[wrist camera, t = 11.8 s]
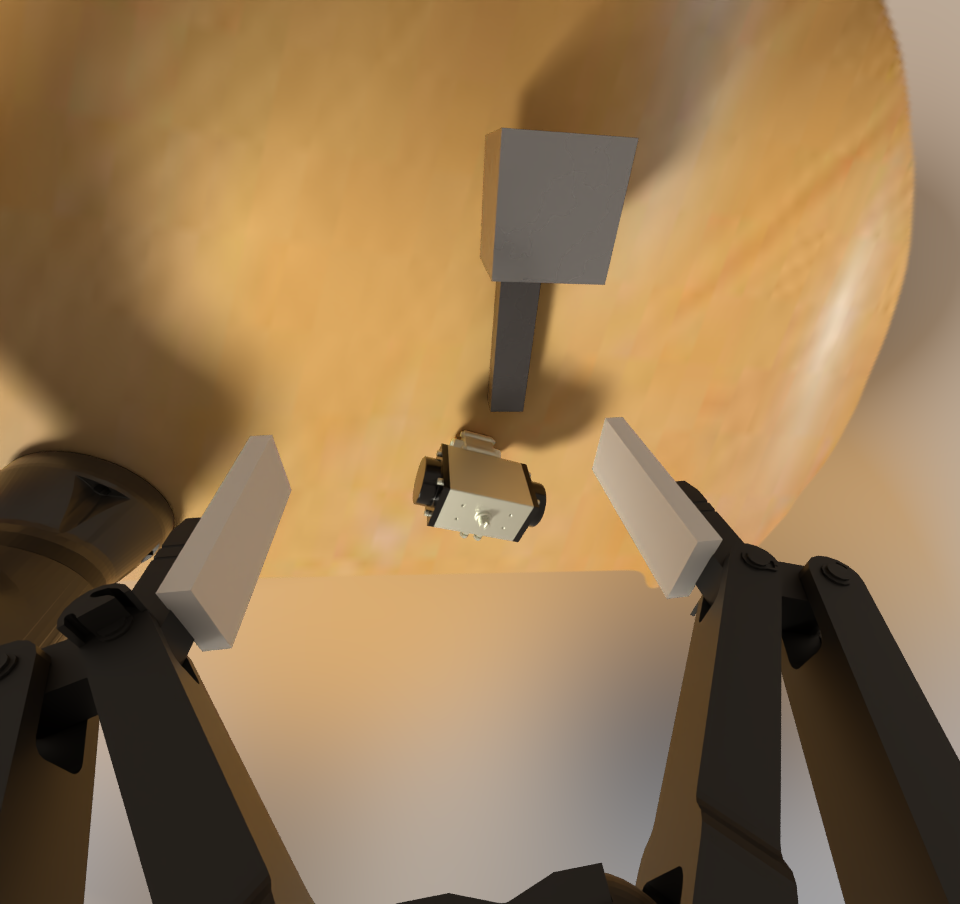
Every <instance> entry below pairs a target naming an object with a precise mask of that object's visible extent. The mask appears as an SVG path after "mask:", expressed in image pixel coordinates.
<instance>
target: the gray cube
mask: <svg viewBox="0 0 960 904" xmlns="http://www.w3.org/2000/svg"><path fill="white" fill-rule="evenodd" d="M637 143H638V138H630V137H617V136H604V135H591V134H577V133H564V132H551V131H537V130H524V129H511V128H500V129H498V130H496V131H494V132H491V133H489V134H487V135H486V138H485V159H484V181H483V202H482V223H481V244H480V259H481V261H482V263H483V265H484V267H485V269H486V271H487V273H488V275H489V277H490V279H491V281H500V282H533V283H565V284H598V285H605V281H606V277H607V273H608V268H609V264H610V260H611V255H612V251H613V247H614V242H615V238H616V234H617V229H618V225H619V221H620V216H621V212H622V208H623V203H624V199H625V195H626V190H627V186H628V182H629V177H630V173H631V169H632V164H633V160H634V156H635V151H636V147H637Z"/></svg>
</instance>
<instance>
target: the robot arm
mask: <svg viewBox="0 0 960 904" xmlns="http://www.w3.org/2000/svg"><path fill="white" fill-rule="evenodd" d="M592 470H593V472H594V474H595V475H596V477H597V479H598V481H599V482H600V484H601V486H602V487H603V489H604V491H605V493H606V494H607V496H608V498H609V500H610V501H611V503H612V505H613V506H614V508H615V510H616V512H617V513H618V515H619V517H620V519H621V520H622V522H623V524H624V525H625V527H626V529H627V531H628V532H629V534H630V536H631V538H632V539H633V541H634V543H635V544H636V546H637V548H638V550H639V551H640V553H641V555H642V557H643V558H644V560H645V562H646V563H647V565H648V567H649V569H650V570H651V572H652V574H653V576H654V577H655V579H656V581H657V582H658V584H659V586H660V588H661V589H662V591H663V593H664V595H665V596H666V598H667V599H670V598H678V597H687V596H689V595H690V594H691V592H692V590H693V589H694V587H695V585H696V586H697V587H698V589H699V590H700V592H701V593H702V596H701V598H700V600H699V601H698V603H697V604H696V606H695V608H694V609H693V611H692V613H691V615H692V616H695V614H696V618H695V623H694V628H693V633H692V638H691V643H690V648H689V653H688V658H687V662H686V668H685V673H684V678H683V682H682V687H681V692H680V697H679V702H678V707H677V712H676V717H675V722H674V728H673V733H672V738H671V742H670V747H669V752H668V757H667V763H666V768H665V773H664V778H663V783H662V787H661V792H660V797H659V802H658V808H657V812H656V818H655V822H654V826H653V830H652V833H651V836H650V838H649V841H648V843H647V845H646V848H645V850H644V853H643V856H642V859H641V863H640V867H639V872H638V876H637V881H636V886H634V885H632V884H631V883H629V882H627V881H625V880H624V879H621V878H619V877H616V876H614V875H611V874H608V873H604V869H603V866H602V863H598V864H593V865H588V866H583V867H578V868H573V869H568V870H563V871H558V872H553V873H552V874H550V875H549V876H547V877H546V878H544V879H543V880H541V881H540V882H538V883H537V884H535V885H534V886H532V887H531V888H529V889H528V890H526V891H524V892H523V893H521V894H520V895H518V896H517V897H515V898H514V899H512V900H511V901H509V902H507V903H495V902H490V901H486V900H481V899H476V898H471V897H465V896H460V895H455V894H450V893H447V894H442V895H437V896H432V897H427V898H422V899H417V900H412V901H407V902H402V903H397V904H798V895H797V885H796V882H795V878H794V876H793V872H792V871H791V869H790V868H789V867H788V865H787V864H786V862H785V861H784V860H783V857H782V854H781V846H780V813H781V810H780V809H781V806H780V805H781V804H780V803H781V800H780V799H781V798H780V797H781V672H782V675H783V679H784V683H785V687H786V690H787V694H788V698H789V701H790V705H791V709H792V712H793V716H794V719H795V723H796V727H797V730H798V734H799V738H800V741H801V745H802V749H803V752H804V755H805V759H806V763H807V766H808V770H809V774H810V778H811V781H812V785H813V788H814V792H815V795H816V799H817V803H818V806H819V810H820V814H821V817H822V821H823V825H824V828H825V832H826V836H827V839H828V843H829V846H830V850H831V854H832V857H833V861H834V864H835V868H836V872H837V875H838V879H839V883H840V886H841V890H842V894H843V897H844V901H845V904H960V761H959V759H958V757H957V755H956V754H955V752H954V750H953V748H952V746H951V744H950V742H949V740H948V738H947V737H946V735H945V733H944V731H943V729H942V727H941V725H940V723H939V722H938V720H937V718H936V716H935V714H934V712H933V710H932V709H931V707H930V705H929V703H928V701H927V699H926V697H925V695H924V694H923V692H922V690H921V688H920V686H919V684H918V682H917V681H916V679H915V677H914V675H913V673H912V671H911V669H910V667H909V666H908V664H907V662H906V660H905V658H904V656H903V654H902V653H901V651H900V649H899V647H898V645H897V643H896V641H895V640H894V638H893V636H892V634H891V632H890V630H889V628H888V626H887V625H886V623H885V621H884V619H883V617H882V615H881V613H880V611H879V610H878V608H877V606H876V604H875V602H874V600H873V598H872V597H871V595H870V593H869V591H868V589H867V587H866V585H865V584H864V582H863V580H862V579H861V578H860V576H859V575H858V574H857V573H856V572H855V571H854V570H852V569H851V568H849V566H847V565H845V564H843V563H842V562H840V561H838V560H835V559H832V558H829V557H824V556H816V557H812V558H811V559H810V560H809V561H808V562H807V564H806V565H805V566H801V565H795V564H790V563H784V562H778V561H777V560H776V559H775V558H774V557H773V556H772V555H771V554H769V553H768V552H767V551H765V550H763V549H761V548H759V547H757V546H754V545H751V544H744V543H743V541H742V540H741V539H740V538H739V537H738V536H737V534H736V533H735V532H734V531H733V530H732V529H731V528H730V526H729V525H728V524H727V523H726V522H725V521H724V519H723V518H722V517H721V516H720V515H719V514H718V513H717V512H715V509H714V508H713V507H712V506H711V504H710V503H707V500H706V499H705V498H704V496H703V495H702V494H701V493H700V492H699V491H698V490H697V489H696V488H694V487H693V486H691V485H690V484H688V483H687V482H685V481H676V482H675V481H674V479H673V478H672V477H671V476H670V474H669V473H668V472H667V471H666V470H665V468H664V467H663V466H662V465H661V463H660V462H659V461H658V460H657V459H656V457H655V456H654V455H653V454H652V452H651V451H650V450H649V449H648V448H647V446H646V445H645V444H644V443H643V441H642V440H641V439H640V438H639V437H638V435H637V434H636V433H635V432H634V430H633V429H632V428H631V427H630V426H629V424H628V423H627V422H626V421H625V419H624V418H623V417H616V418H605V421H604V425H603V429H602V433H601V436H600V440H599V444H598V448H597V452H596V456H595V460H594V464H593V468H592ZM290 492H291V487H290V484H289V481H288V479H287V476H286V473H285V470H284V467H283V464H282V462H281V459H280V456H279V453H278V450H277V447H276V445H275V442H274V439H273V436H272V435H262V436H250V437H249V439H248V441H247V442H246V444H245V446H244V447H243V449H242V451H241V452H240V454H239V456H238V457H237V459H236V461H235V462H234V464H233V466H232V467H231V469H230V471H229V472H228V474H227V476H226V477H225V479H224V481H223V482H222V484H221V486H220V487H219V489H218V491H217V492H216V494H215V496H214V497H213V499H212V501H211V502H210V504H209V506H208V507H207V509H206V511H205V512H204V514H203V516H202V517H201V518H187V519H185V520H184V521H183V522H182V523H180V524H179V525H178V526H177V527H176V528H175V529H173V527H174V517H173V513H172V510H171V508H170V506H169V504H168V503H167V501H166V500H165V499H164V497H163V496H162V495H161V494H160V493H159V492H158V491H157V490H156V489H155V488H154V487H153V486H151V485H150V484H149V483H148V482H146V481H145V480H143V479H142V478H140V477H139V476H137V475H135V474H134V473H132V472H130V471H128V470H126V469H124V468H122V467H120V466H118V465H115V464H113V463H110V462H107V461H105V460H102V459H98V458H95V457H91V456H87V455H82V454H77V453H70V452H58V451H49V452H38V453H32V454H28V455H25V456H22V457H20V458H18V459H16V460H14V461H13V462H11V463H10V464H8V465H7V466H6V467H4V468H3V469H2V470H0V904H84V892H85V881H86V870H87V858H88V847H89V833H90V823H91V812H92V811H91V810H92V800H93V788H94V777H95V765H96V754H97V741H98V730H99V719H100V723H101V726H102V730H103V733H104V737H105V740H106V744H107V747H108V751H109V754H110V757H111V761H112V764H113V768H114V771H115V775H116V778H117V782H118V785H119V789H120V792H121V796H122V799H123V802H124V806H125V809H126V813H127V816H128V820H129V823H130V826H131V830H132V834H133V837H134V840H135V844H136V847H137V851H138V854H139V857H140V861H141V865H142V868H143V872H144V875H145V878H146V882H147V885H148V889H149V892H150V896H151V899H152V903H153V904H315V903H314V901H313V900H312V898H311V897H310V895H309V893H308V891H307V889H306V887H305V886H304V884H303V881H302V880H301V878H300V876H299V873H298V871H297V870H296V868H295V866H294V864H293V862H292V860H291V858H290V856H289V854H288V852H287V850H286V848H285V846H284V844H283V842H282V840H281V838H280V836H279V834H278V832H277V830H276V828H275V826H274V824H273V822H272V820H271V818H270V816H269V814H268V812H267V810H266V808H265V806H264V804H263V802H262V800H261V798H260V796H259V794H258V792H257V790H256V788H255V786H254V784H253V782H252V780H251V778H250V776H249V774H248V772H247V770H246V768H245V766H244V764H243V762H242V760H241V758H240V756H239V754H238V752H237V750H236V748H235V746H234V744H233V742H232V740H231V738H230V737H229V734H228V732H227V730H226V728H225V726H224V724H223V722H222V720H221V718H220V717H219V714H218V712H217V710H216V708H215V706H214V704H213V702H212V700H211V698H210V696H209V694H208V692H207V691H206V688H205V686H204V684H203V682H202V680H201V678H200V676H199V675H198V672H197V670H196V668H195V667H194V664H193V662H192V661H191V659H190V658H189V657H188V656H187V655H188V652H189V650H190V648H191V646H192V644H193V642H195V643H196V644H197V645H198V647H199V648H200V649H201V650H202V651H210V650H219V649H228V648H232V646H233V643H234V641H235V638H236V636H237V633H238V630H239V628H240V625H241V622H242V620H243V617H244V614H245V612H246V609H247V606H248V604H249V601H250V598H251V596H252V593H253V591H254V588H255V585H256V582H257V580H258V577H259V575H260V572H261V569H262V567H263V564H264V561H265V559H266V556H267V553H268V551H269V548H270V545H271V543H272V540H273V538H274V535H275V532H276V530H277V527H278V524H279V522H280V519H281V516H282V514H283V511H284V508H285V506H286V503H287V500H288V498H289V495H290ZM161 547H162V548H161ZM160 548H161V549H160ZM154 554H156V555H155V556H154V560H153V561H151V562H150V564H149V565H148V567H147V568H146V570H145V571H144V573H143V575H142V576H141V578H140V579H139V581H138V582H137V584H136V585H135V587H134V588H133V590H132V591H131V590H130V589H129V588H128V587H127V586H126V585H125V584H118V583H117V582H118V581H120V580H121V579H122V578H124V577H125V576H126V575H128V574H129V573H130V572H131V571H133V570H134V569H135V568H136V567H137V566H139V565H140V564H141V563H142V562H144V561H146V560H148V559H149V558H151V557H152V556H153V555H154Z"/></svg>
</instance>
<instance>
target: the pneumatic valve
mask: <svg viewBox="0 0 960 904" xmlns="http://www.w3.org/2000/svg"><path fill="white" fill-rule="evenodd" d="M460 437H462V438H461V440H459V439H455V438H453V439H452V440H451V442H450V445H446V444H441V447H440V449H439V450H438V451H437V454H436V456H437V457H436V459H435V458H431V457H426V456H425V457H424V458H423V459H422V461H421V463H420V466H419V469H418V472H417V475H416V480H415V484H414V490H413V503H414V504H417V505H422V506H425V511H424V516H427V526H432V527H437V528H443V529H448V530H454V531H459V532H460V536H461V537H462V538H467V536H468V535H469V533H470V534H474V536H473V537H474V539H475V540H477V541H479V540H480V539H481V538H482V536H487V537H492V538H498V539H503V540H509V541H514V542H519V540H520V539H521V537H522V535H523V534H524V532H525V531H526V529H527V528H528V527H534V526H536V525H537V524H538V523H539V522H540V520H541V518H542V516H543V514H544V511H545V506H546V491H545V488H544V486H543V485H542V484H540V483H537V482H533V481H531V478H530V477H531V473H530V472H528V469H527V465H526V464H522V463H518V462H514V461H510V460H506V459H502V458H501V451H500V450H498V449H495V448H494V447H493V445H494V444H495V443H496V442H495V440H493V439H492V437H489V436H485V435H482V434H478V433H474V432H470V431H466V430H464V431H463V432H462V431H461V432H460Z"/></svg>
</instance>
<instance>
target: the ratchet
mask: <svg viewBox="0 0 960 904" xmlns="http://www.w3.org/2000/svg"><path fill="white" fill-rule="evenodd" d="M540 285H541V283H533V282H500V281H496V291H495V304H494V318H493V332H492V346H491V359H490V373H489V387H488V403H489V408H490V412H519V411H523V408H524V401H525V394H526V387H527V379H528V372H529V365H530V358H531V350H532V343H533V336H534V329H535V321H536V314H537V307H538V299H539V292H540Z"/></svg>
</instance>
